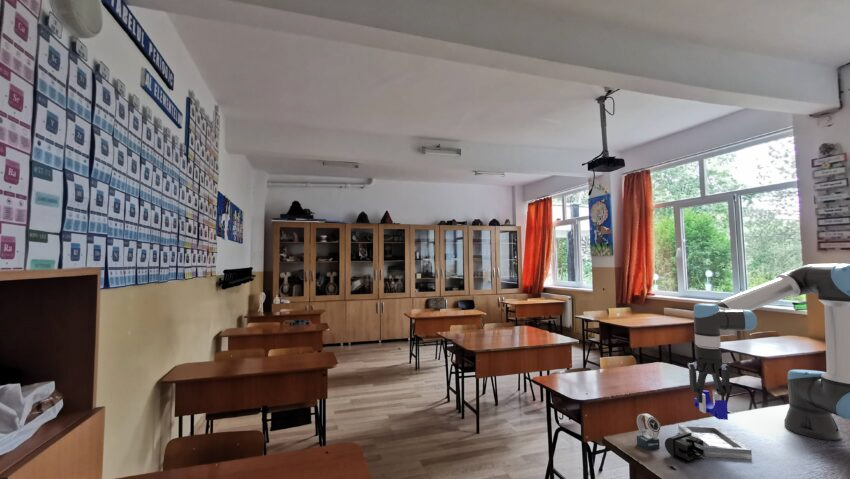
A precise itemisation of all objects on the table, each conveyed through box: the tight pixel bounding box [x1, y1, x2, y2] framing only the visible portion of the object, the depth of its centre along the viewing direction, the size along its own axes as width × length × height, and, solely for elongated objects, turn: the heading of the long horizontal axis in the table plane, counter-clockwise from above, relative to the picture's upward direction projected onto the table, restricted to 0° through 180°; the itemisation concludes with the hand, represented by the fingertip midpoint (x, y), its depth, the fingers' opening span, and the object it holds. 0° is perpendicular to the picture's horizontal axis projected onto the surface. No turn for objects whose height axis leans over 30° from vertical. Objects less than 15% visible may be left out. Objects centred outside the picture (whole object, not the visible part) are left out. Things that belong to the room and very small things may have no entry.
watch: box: [636, 412, 661, 451], centre depth 137 cm, size 6×8×11 cm
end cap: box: [664, 432, 705, 465], centre depth 129 cm, size 10×7×7 cm
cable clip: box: [693, 389, 729, 421], centre depth 138 cm, size 12×4×6 cm, turn 171°
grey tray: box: [677, 424, 753, 460], centre depth 137 cm, size 14×18×3 cm
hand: (710, 412), depth 138 cm, fingers closed on cable clip, 4 cm apart
